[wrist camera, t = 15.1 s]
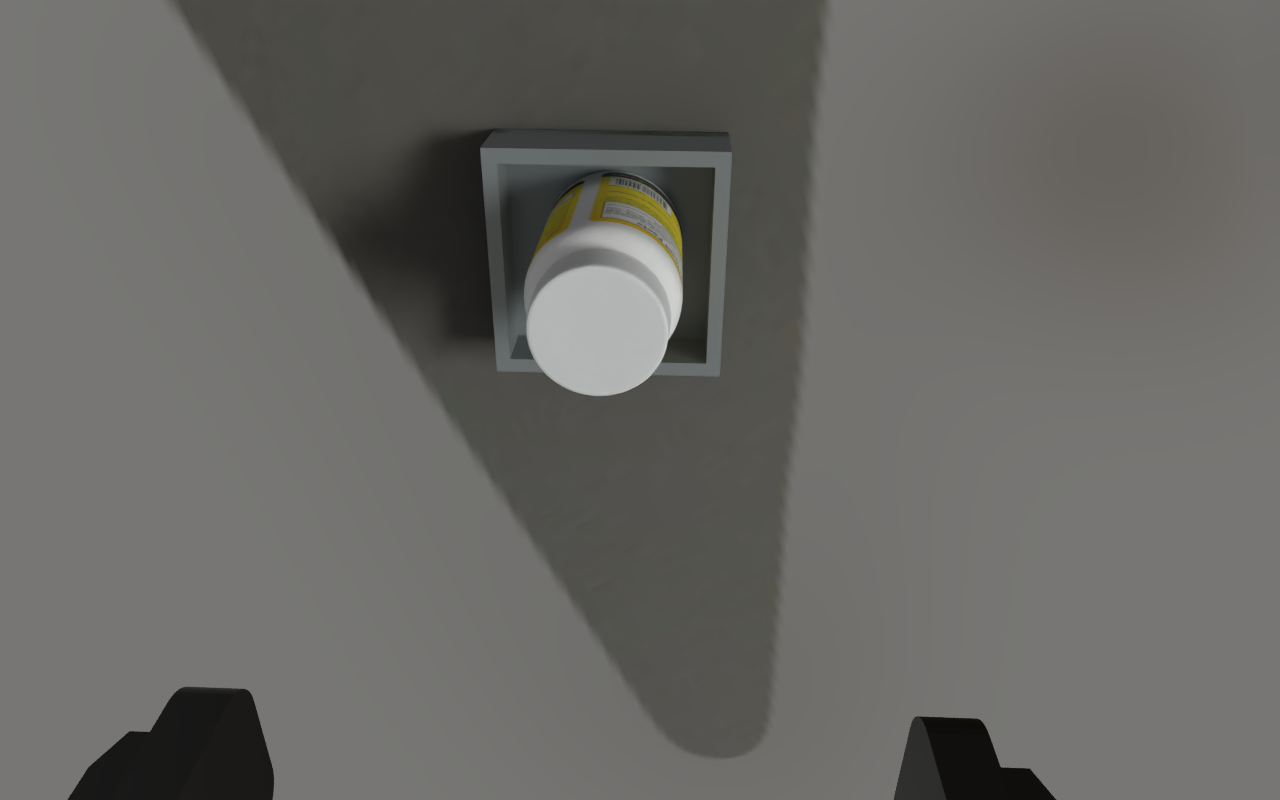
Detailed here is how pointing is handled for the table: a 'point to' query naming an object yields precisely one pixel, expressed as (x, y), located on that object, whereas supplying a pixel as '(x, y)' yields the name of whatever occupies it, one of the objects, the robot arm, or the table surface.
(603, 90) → the table surface
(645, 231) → the supplement bottle
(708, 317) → the tray
